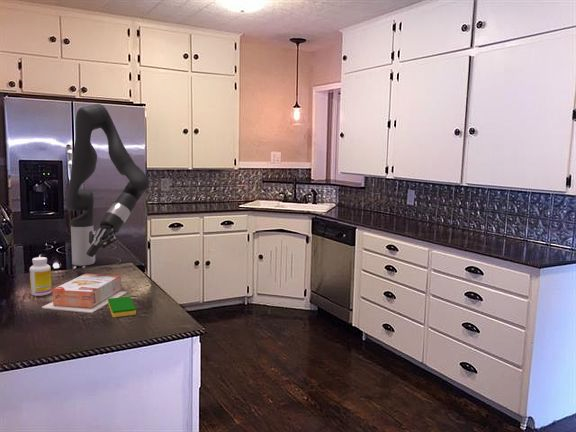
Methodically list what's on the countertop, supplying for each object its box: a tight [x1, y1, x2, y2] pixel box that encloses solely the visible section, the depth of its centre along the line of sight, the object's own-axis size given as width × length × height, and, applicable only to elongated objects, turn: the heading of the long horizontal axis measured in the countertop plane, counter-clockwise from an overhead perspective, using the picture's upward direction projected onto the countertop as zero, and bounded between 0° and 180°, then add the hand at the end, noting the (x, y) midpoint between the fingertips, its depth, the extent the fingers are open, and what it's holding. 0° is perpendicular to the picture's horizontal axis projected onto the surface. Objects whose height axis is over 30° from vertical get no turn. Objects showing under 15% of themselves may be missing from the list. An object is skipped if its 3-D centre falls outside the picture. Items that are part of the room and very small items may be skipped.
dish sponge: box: [107, 295, 137, 318], centre depth 158 cm, size 7×14×2 cm, turn 26°
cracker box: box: [51, 273, 122, 308], centre depth 167 cm, size 14×6×21 cm
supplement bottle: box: [29, 256, 53, 297], centre depth 171 cm, size 7×7×13 cm
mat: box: [41, 290, 128, 314], centre depth 166 cm, size 22×18×1 cm
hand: (89, 255), depth 172 cm, fingers closed
